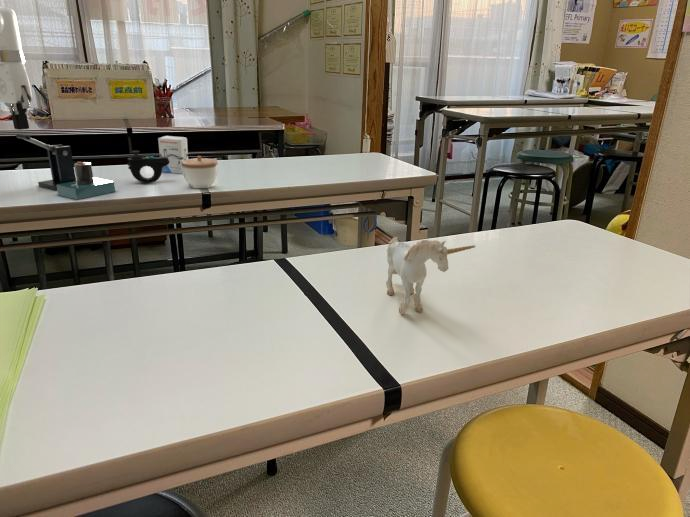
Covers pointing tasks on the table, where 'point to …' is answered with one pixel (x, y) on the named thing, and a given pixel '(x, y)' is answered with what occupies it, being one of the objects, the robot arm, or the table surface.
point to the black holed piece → (139, 162)
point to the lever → (36, 142)
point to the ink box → (173, 152)
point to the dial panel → (85, 189)
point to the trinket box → (200, 171)
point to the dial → (84, 173)
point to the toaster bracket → (60, 167)
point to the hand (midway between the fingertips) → (21, 128)
